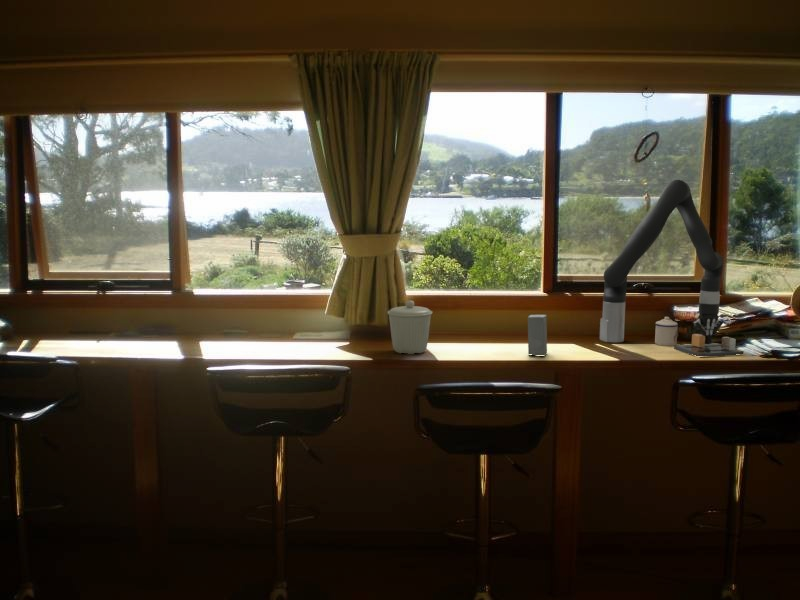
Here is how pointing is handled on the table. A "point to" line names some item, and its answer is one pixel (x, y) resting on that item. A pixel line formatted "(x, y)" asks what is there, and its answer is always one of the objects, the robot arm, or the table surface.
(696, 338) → the fader orange
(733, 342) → the fader silver
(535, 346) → the skincare box
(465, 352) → the table surface
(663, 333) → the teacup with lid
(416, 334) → the canister
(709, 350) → the console
